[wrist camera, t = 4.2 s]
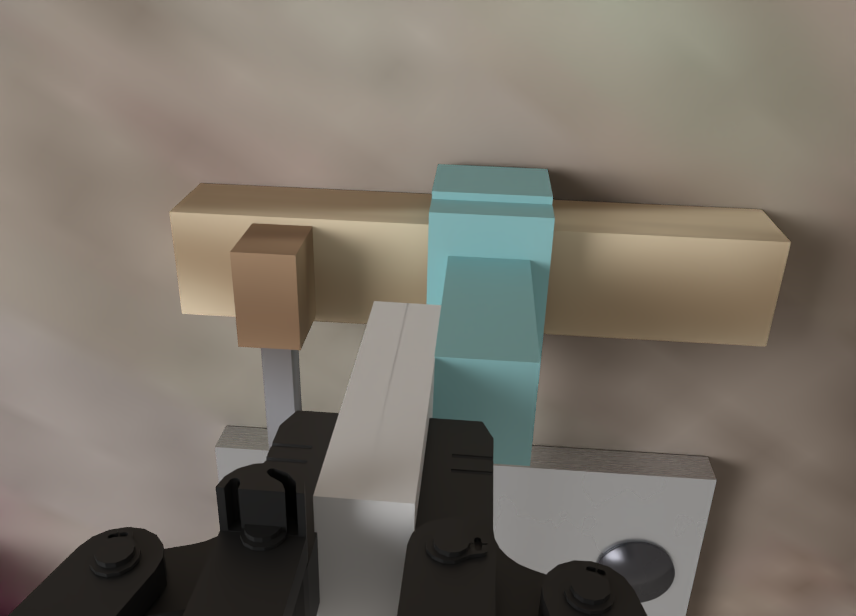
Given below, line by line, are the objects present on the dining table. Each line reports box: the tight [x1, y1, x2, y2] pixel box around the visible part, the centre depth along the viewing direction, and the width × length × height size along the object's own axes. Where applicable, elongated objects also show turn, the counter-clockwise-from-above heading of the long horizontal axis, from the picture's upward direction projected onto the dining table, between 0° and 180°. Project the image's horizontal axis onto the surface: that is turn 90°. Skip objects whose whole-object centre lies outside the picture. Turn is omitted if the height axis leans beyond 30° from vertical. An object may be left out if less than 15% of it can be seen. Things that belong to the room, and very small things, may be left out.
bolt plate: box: [215, 426, 717, 616], centre depth 28 cm, size 8×16×1 cm, turn 89°
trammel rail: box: [169, 183, 791, 449], centre depth 24 cm, size 13×16×4 cm
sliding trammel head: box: [427, 164, 555, 466], centre depth 21 cm, size 14×3×8 cm, turn 179°
